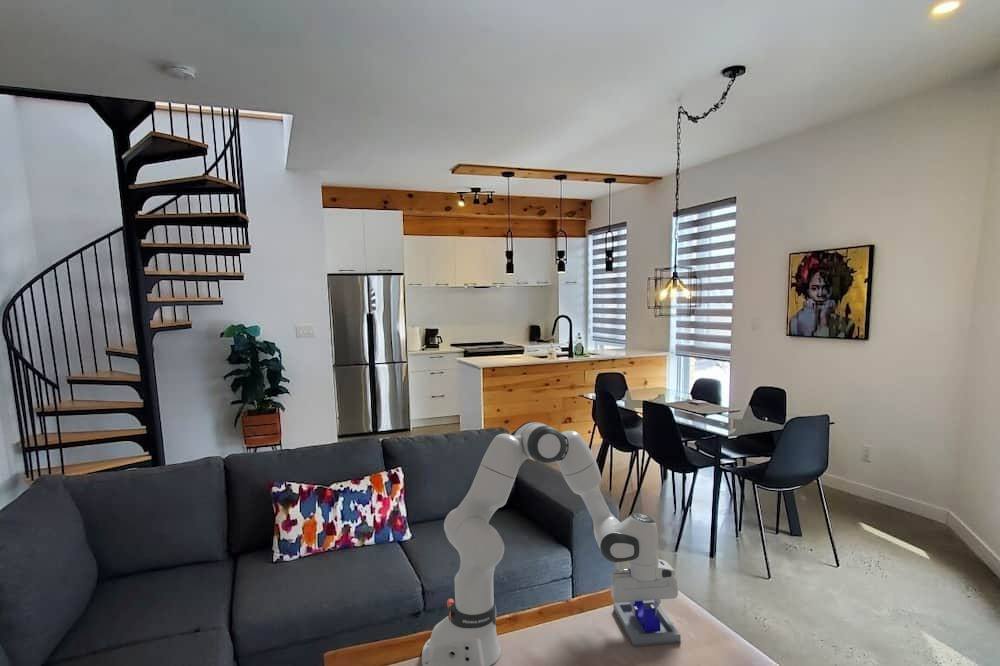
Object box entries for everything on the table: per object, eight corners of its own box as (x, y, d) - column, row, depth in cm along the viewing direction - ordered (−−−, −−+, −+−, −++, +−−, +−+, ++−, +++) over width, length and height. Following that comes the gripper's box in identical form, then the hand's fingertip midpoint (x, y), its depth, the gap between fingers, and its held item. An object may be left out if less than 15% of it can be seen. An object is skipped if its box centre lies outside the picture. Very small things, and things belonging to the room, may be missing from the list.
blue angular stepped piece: (660, 631, 143) (660, 610, 143) (645, 632, 142) (645, 612, 142) (644, 607, 155) (644, 588, 155) (631, 608, 154) (630, 589, 154)
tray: (633, 647, 140) (633, 638, 139) (613, 610, 157) (613, 602, 157) (680, 642, 141) (680, 634, 141) (655, 607, 159) (655, 599, 159)
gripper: (613, 575, 145) (614, 621, 145) (680, 571, 146) (680, 616, 147) (607, 565, 151) (608, 609, 151) (670, 560, 153) (671, 604, 153)
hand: (644, 612), depth 149 cm, fingers closed on blue angular stepped piece, 4 cm apart
